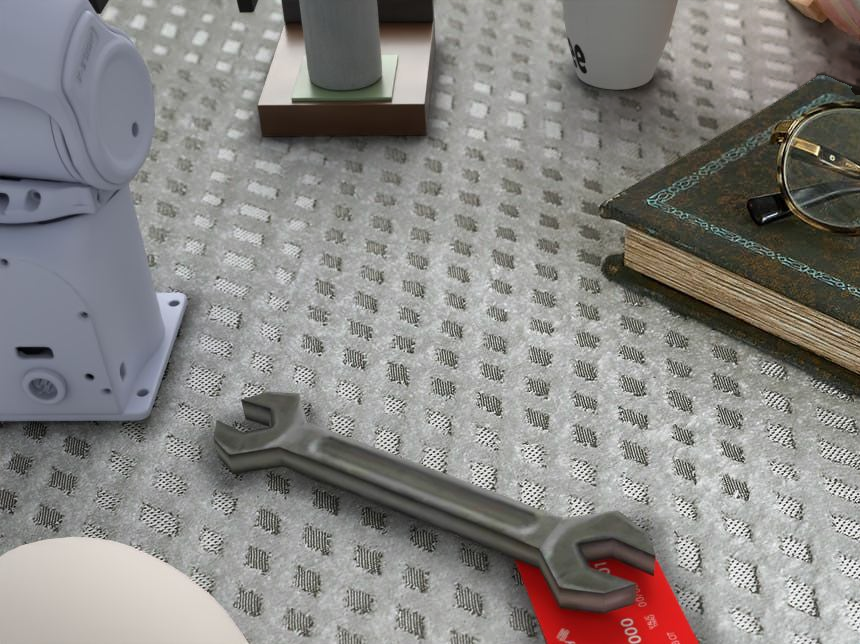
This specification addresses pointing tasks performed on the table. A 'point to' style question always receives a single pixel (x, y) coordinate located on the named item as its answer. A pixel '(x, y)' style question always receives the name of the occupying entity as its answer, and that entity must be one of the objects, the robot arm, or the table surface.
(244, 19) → the table surface
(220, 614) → the egg
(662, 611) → the credit card
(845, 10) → the planter
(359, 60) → the grey hollow cylinder
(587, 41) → the cup
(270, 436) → the wrench
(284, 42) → the box with green square
